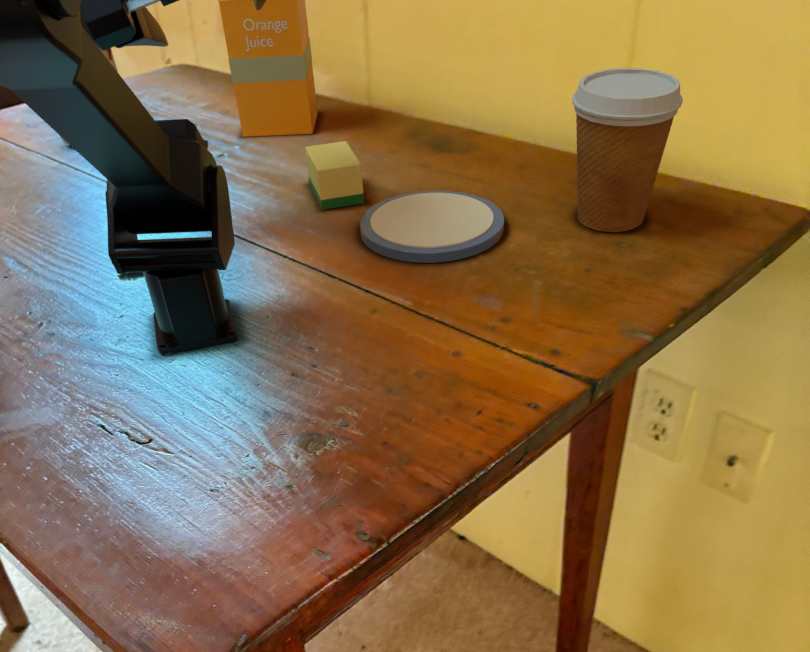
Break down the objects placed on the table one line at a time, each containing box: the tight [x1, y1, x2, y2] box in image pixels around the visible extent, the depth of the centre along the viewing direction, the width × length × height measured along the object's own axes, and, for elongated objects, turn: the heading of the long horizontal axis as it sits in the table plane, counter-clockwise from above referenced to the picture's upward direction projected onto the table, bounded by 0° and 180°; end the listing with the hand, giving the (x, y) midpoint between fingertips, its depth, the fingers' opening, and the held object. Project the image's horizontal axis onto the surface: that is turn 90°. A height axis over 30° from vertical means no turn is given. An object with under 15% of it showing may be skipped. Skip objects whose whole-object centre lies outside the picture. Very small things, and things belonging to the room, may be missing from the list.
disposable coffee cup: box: [571, 67, 684, 233], centre depth 74 cm, size 10×10×12 cm
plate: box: [359, 190, 505, 264], centre depth 78 cm, size 14×14×1 cm
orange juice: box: [218, 0, 319, 138], centre depth 95 cm, size 8×9×20 cm
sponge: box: [304, 140, 365, 211], centre depth 84 cm, size 7×4×4 cm, turn 16°
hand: (210, 22), depth 74 cm, fingers open, 9 cm apart
